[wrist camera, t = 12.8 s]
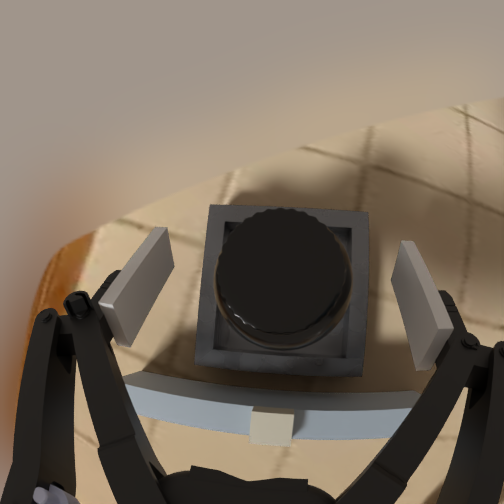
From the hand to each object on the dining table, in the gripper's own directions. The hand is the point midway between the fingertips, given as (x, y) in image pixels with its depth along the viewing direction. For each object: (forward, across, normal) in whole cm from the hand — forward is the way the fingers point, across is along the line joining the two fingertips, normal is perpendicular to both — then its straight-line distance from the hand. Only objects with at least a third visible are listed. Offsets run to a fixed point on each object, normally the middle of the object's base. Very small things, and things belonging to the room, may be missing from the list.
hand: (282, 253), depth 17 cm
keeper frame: (+4, 0, -6) cm, 7 cm away
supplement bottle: (+4, 0, -6) cm, 7 cm away
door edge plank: (-2, 0, -12) cm, 12 cm away
